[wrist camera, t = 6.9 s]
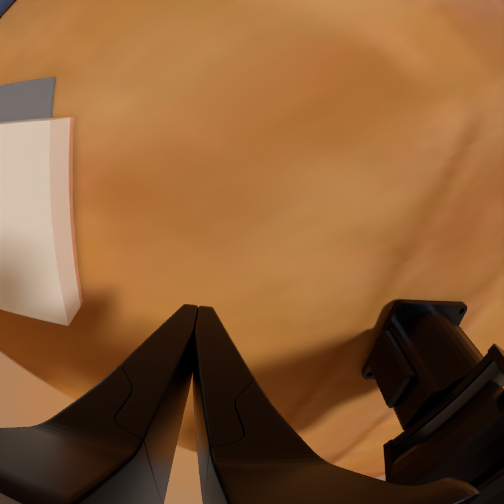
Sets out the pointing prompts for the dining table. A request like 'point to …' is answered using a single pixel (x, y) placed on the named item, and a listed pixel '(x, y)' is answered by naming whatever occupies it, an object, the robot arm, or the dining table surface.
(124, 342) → the dining table surface
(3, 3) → the medicine box
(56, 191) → the tile
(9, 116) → the grey mat
